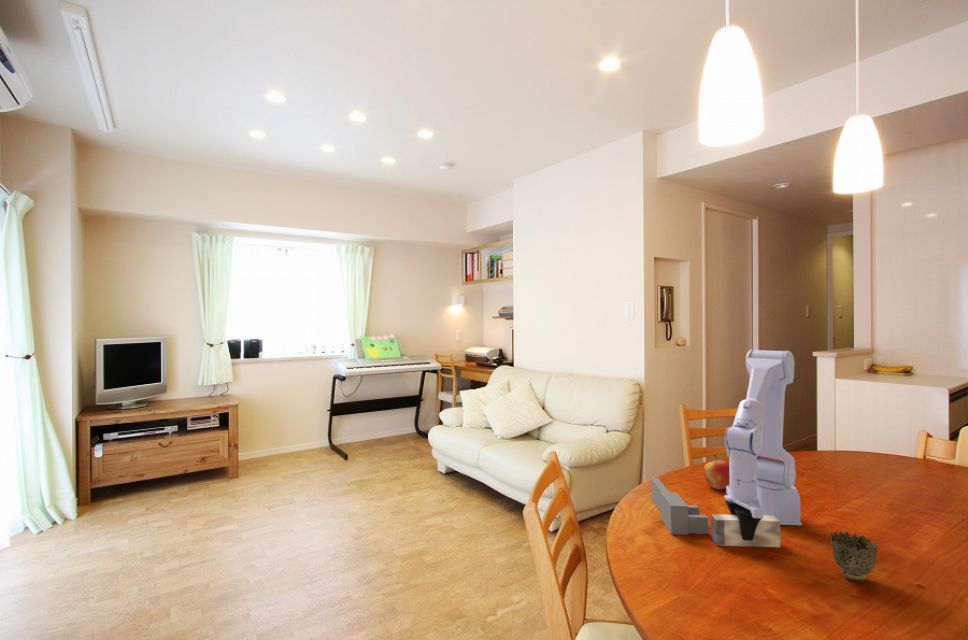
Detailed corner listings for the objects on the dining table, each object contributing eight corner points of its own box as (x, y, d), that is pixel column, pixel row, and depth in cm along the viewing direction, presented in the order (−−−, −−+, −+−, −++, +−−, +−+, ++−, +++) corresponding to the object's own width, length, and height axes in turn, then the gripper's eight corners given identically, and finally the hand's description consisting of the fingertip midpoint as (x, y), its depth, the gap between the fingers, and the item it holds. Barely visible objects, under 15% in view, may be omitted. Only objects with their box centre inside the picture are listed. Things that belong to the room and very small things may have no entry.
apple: (722, 494, 140) (722, 461, 140) (698, 486, 147) (697, 454, 147) (738, 489, 144) (738, 456, 144) (714, 481, 151) (713, 450, 151)
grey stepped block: (679, 498, 137) (679, 474, 137) (709, 535, 115) (709, 506, 115) (647, 498, 138) (647, 474, 138) (671, 534, 115) (670, 505, 115)
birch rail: (773, 540, 111) (773, 515, 111) (780, 547, 108) (780, 521, 108) (711, 539, 113) (711, 514, 113) (716, 545, 110) (716, 519, 110)
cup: (886, 591, 91) (885, 549, 91) (842, 587, 92) (842, 546, 92) (863, 570, 98) (863, 532, 98) (823, 567, 100) (823, 529, 99)
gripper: (713, 468, 118) (714, 522, 118) (739, 489, 104) (739, 550, 104) (742, 468, 117) (743, 522, 117) (772, 489, 103) (773, 551, 103)
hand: (743, 536), depth 110 cm, fingers closed on birch rail, 3 cm apart
